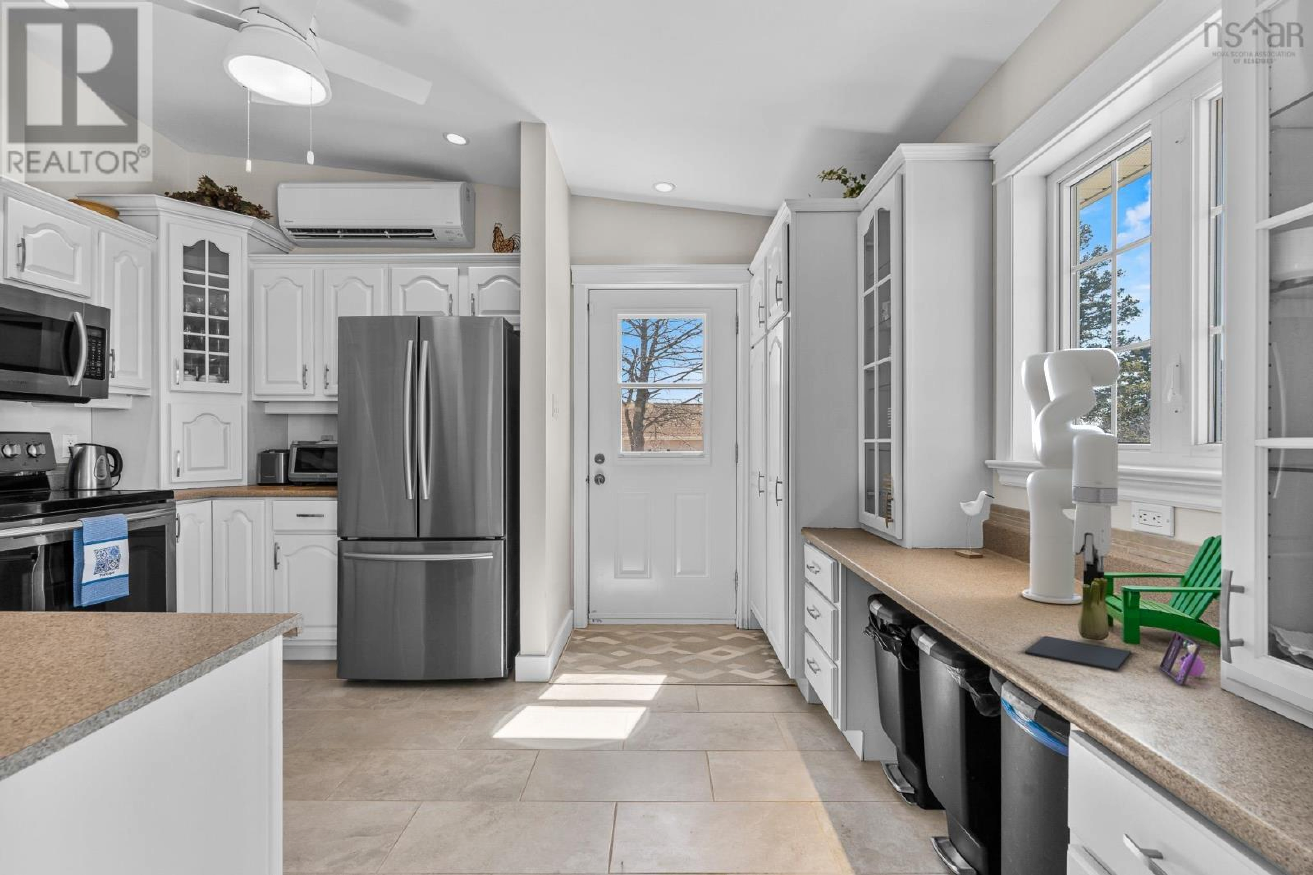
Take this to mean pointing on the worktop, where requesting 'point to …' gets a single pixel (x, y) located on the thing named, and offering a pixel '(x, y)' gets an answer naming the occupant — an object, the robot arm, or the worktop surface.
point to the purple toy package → (1183, 658)
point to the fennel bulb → (1094, 611)
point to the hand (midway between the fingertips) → (1093, 591)
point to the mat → (1079, 652)
